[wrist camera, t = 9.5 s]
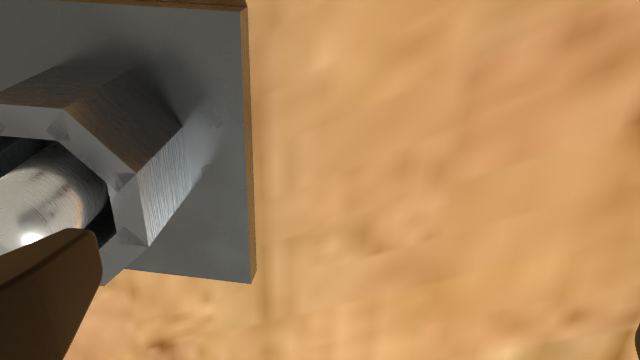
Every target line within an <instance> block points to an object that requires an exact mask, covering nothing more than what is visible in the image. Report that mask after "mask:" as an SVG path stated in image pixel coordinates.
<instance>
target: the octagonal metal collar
mask: <svg viewBox="0 0 640 360" xmlns="http://www.w3.org/2000/svg"><path fill="white" fill-rule="evenodd" d="M49 140H57V141H58V142H60V143H61V144H62V145H63V146H64V147H65V148H67V149H68V150H69V151H70V152H71V153H72V154H74V155H75V156H76V157H77V158H78V159H79V160H81V161H82V162H83V163H84V164H85V165H86V166H88V167H89V168H90V169H91V170H92V171H93V172H95V173H96V174H97V175H98V176H99V177H100V178H101V179H103V180H104V181H105V182H106V183H107V187H108V192H109V197H110V202H109V203H108V205H107V206H106V207H105V208H104V209H103V210H102V211H101V212H100V213H99V214H98V215H97V216H96V217H95V218H94V219H93V220H92V221H91V222H90V223H89V224H88V225H87V226H86V227H85V228H84V229H88V230H91V231H92V232H93V233H94V234H95V236H96V239H97V243H98V248H99V252H100V257H101V262H102V266H103V276H102V280H101V283H100V285H99V286H105V285H106V284H107V283H108V282H109V281H110V280H112V279H113V278H114V277H115V276H116V275H117V274H118V273H120V272H121V271H122V270H123V269H124V268H125V267H126V266H128V265H129V264H130V263H131V262H132V261H133V260H135V259H136V258H137V257H138V256H139V255H140V254H141V253H143V252H144V251H145V250H146V249H147V248H148V247H149V246H150V245H151V243H152V242H153V241H154V239H155V238H156V237H157V235H158V234H159V233H160V231H161V230H162V228H163V227H164V226H165V224H166V223H167V222H168V220H169V219H170V218H171V216H172V215H173V214H174V212H175V211H176V209H177V208H178V207H179V205H180V204H181V203H182V201H183V200H184V199H185V197H186V196H187V195H188V193H189V192H190V185H189V176H188V167H187V159H186V150H185V141H184V132H183V126H182V125H181V124H180V123H179V122H177V121H176V120H175V119H174V118H173V117H172V116H171V115H170V114H169V113H168V112H167V111H166V110H165V109H164V108H163V107H162V106H161V105H159V104H158V103H157V102H156V101H155V100H154V99H153V98H152V97H151V96H150V95H149V94H148V93H147V92H146V91H145V90H144V89H142V88H141V87H140V86H139V85H138V84H137V83H136V82H135V81H134V80H133V79H132V78H131V77H130V76H129V75H128V74H127V73H126V72H120V71H105V70H90V69H75V68H61V67H52V68H50V69H47V70H45V71H43V72H41V73H39V74H37V75H34V76H32V77H30V78H28V79H26V80H24V81H22V82H19V83H17V84H15V85H13V86H11V87H9V88H6V89H4V90H2V91H0V178H1V177H3V176H4V175H6V174H7V173H9V172H10V171H12V170H13V169H14V168H16V167H17V166H19V165H20V164H22V163H23V162H25V161H26V160H28V159H29V158H31V157H32V156H34V155H35V154H37V153H38V152H39V151H41V150H42V149H44V148H45V147H47V146H48V145H50V143H49Z"/></svg>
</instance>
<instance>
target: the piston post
mask: <svg viewBox="0 0 640 360" xmlns="http://www.w3.org/2000/svg"><path fill="white" fill-rule="evenodd" d="M52 67H61V68H75V69H90V70H105V71H120V72H126V73H127V74H128V75H129V76H130V77H131V78H132V79H133V80H134V81H135V82H136V83H137V84H138V85H139V86H140V87H141V88H142V89H144V90H145V91H146V92H147V93H148V94H149V95H150V96H151V97H152V98H153V99H154V100H155V101H156V102H157V103H158V104H159V105H161V106H162V107H163V108H164V109H165V110H166V111H167V112H168V113H169V114H170V115H171V116H172V117H173V118H174V119H175V120H176V121H177V122H179V123H180V124H181V125H182V126H183V132H184V141H185V150H186V159H187V167H188V176H189V185H190V192H189V193H188V195H187V196H186V197H185V199H184V200H183V201H182V203H181V204H180V205H179V207H178V208H177V209H176V211H175V212H174V214H173V215H172V216H171V218H170V219H169V220H168V222H167V223H166V224H165V226H164V227H163V228H162V230H161V231H160V233H159V234H158V235H157V237H156V238H155V239H154V241H153V242H152V243H151V245H150V246H149V247H148V248H147V249H146V250H145V251H144V252H143V253H141V254H140V255H139V256H138V257H137V258H136V259H135V260H133V261H132V262H131V263H130V264H129V265H128V266H126V267H125V268H124V269H130V270H138V271H147V272H155V273H163V274H172V275H180V276H189V277H197V278H205V279H214V280H222V281H231V282H239V283H247V284H251V283H252V280H253V278H254V275H255V273H256V242H255V213H254V184H253V154H252V125H251V96H250V67H249V38H248V9H247V7H242V6H225V5H209V4H192V3H175V2H159V1H142V0H0V91H2V90H4V89H6V88H9V87H11V86H13V85H15V84H17V83H19V82H22V81H24V80H26V79H28V78H30V77H32V76H34V75H37V74H39V73H41V72H43V71H45V70H47V69H50V68H52ZM49 143H50V145H48V146H47V147H45V148H44V149H42V150H41V151H39V152H38V153H37V154H35V155H34V156H32V157H31V158H29V159H28V160H26V161H25V162H23V163H22V164H20V165H19V166H17V167H16V168H14V169H13V170H12V171H10V172H9V173H7V174H6V175H4V176H3V177H1V178H0V255H3V254H5V253H8V252H10V251H12V250H15V249H17V248H20V247H22V246H24V245H27V244H29V243H32V242H34V241H37V240H39V239H41V238H44V237H46V236H49V235H51V234H53V233H56V232H58V231H61V230H63V229H66V228H79V229H84V228H85V227H86V226H87V225H88V224H89V223H90V222H91V221H92V220H93V219H94V218H95V217H96V216H97V215H98V214H99V213H100V212H101V211H102V210H103V209H104V208H105V207H106V206H107V205H108V203H109V202H110V197H109V192H108V187H107V183H106V182H105V181H104V180H103V179H101V178H100V177H99V176H98V175H97V174H96V173H95V172H93V171H92V170H91V169H90V168H89V167H88V166H86V165H85V164H84V163H83V162H82V161H81V160H79V159H78V158H77V157H76V156H75V155H74V154H72V153H71V152H70V151H69V150H68V149H67V148H65V147H64V146H63V145H62V144H61V143H60V142H58V141H57V140H49Z"/></svg>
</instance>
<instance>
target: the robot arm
mask: <svg viewBox="0 0 640 360" xmlns="http://www.w3.org/2000/svg"><path fill="white" fill-rule="evenodd" d="M102 276H103V266H102V262H101V257H100V252H99V248H98V243H97V239H96V236H95V234H94V233H93V232H92V231H91V230H88V229H79V228H66V229H63V230H61V231H58V232H56V233H53V234H51V235H49V236H46V237H44V238H41V239H39V240H37V241H34V242H32V243H29V244H27V245H24V246H22V247H20V248H17V249H15V250H12V251H10V252H8V253H5V254H3V255H0V360H63V358H64V357H65V355H66V353H67V351H68V349H69V347H70V345H71V343H72V341H73V339H74V337H75V335H76V333H77V331H78V328H79V326H80V324H81V322H82V320H83V318H84V316H85V314H86V312H87V310H88V308H89V306H90V304H91V302H92V300H93V298H94V295H95V293H96V291H97V289H98V287H99V285H100V283H101V280H102ZM635 347H636V351H637V355H638V358H639V360H640V324H639V326H638V328H637V331H636V334H635Z"/></svg>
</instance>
